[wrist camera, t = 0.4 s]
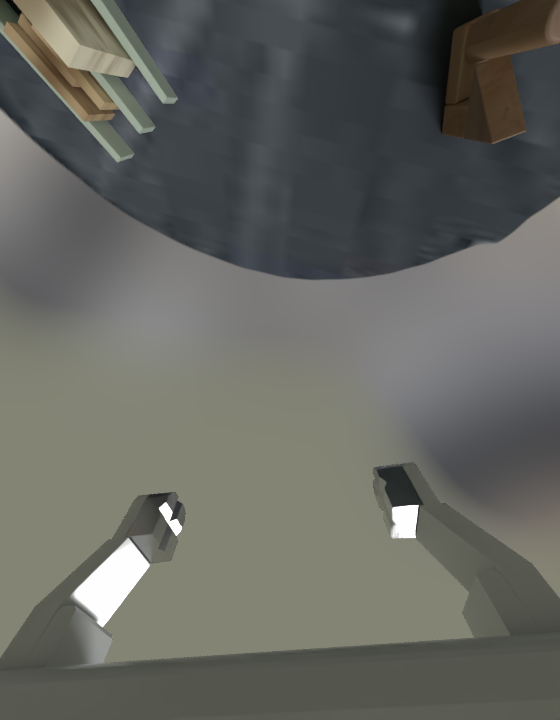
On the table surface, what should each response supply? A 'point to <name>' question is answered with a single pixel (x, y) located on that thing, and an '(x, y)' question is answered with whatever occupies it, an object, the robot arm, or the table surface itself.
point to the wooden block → (494, 69)
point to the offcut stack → (62, 73)
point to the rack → (113, 79)
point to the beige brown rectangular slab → (78, 35)
